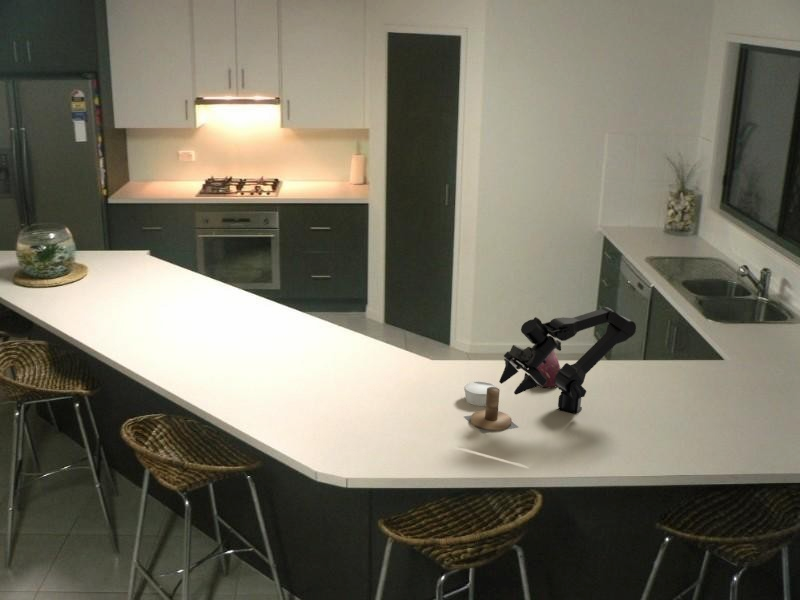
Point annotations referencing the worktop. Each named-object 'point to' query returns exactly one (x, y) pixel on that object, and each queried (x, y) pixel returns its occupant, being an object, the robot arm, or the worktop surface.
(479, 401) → the ramekin
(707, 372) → the worktop surface
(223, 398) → the worktop surface
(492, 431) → the rubber mat
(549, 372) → the vegetable
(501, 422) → the walnut lid
